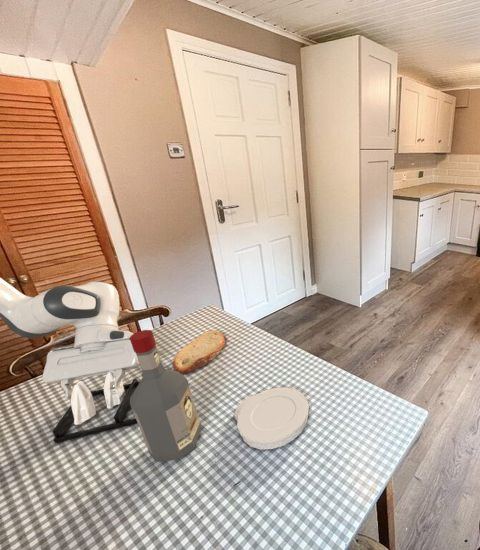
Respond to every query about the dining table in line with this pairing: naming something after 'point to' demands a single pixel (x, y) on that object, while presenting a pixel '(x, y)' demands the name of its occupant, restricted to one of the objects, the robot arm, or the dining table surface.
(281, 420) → the lid
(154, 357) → the liquor
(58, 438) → the dish rack
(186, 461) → the dining table surface
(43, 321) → the robot arm
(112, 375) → the shaker set
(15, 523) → the dining table surface
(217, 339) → the bread slice
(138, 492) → the dining table surface
